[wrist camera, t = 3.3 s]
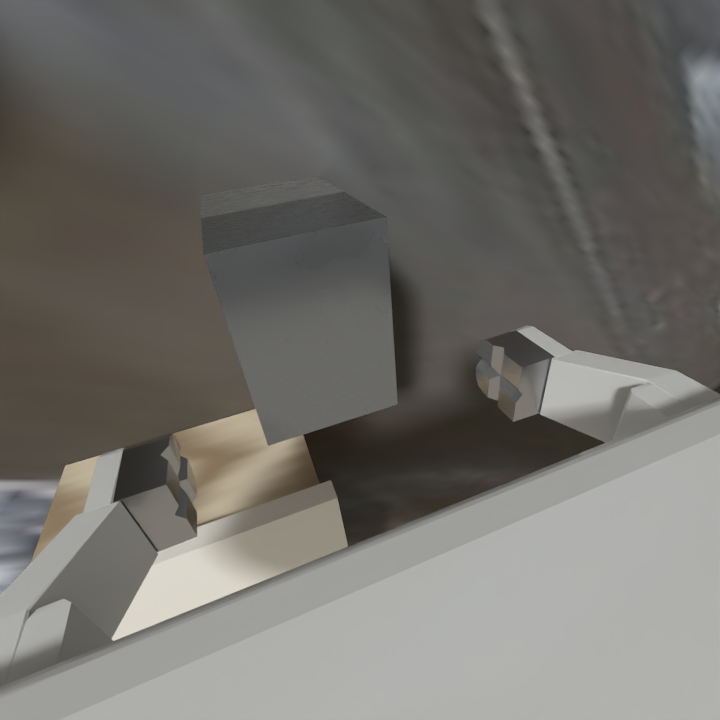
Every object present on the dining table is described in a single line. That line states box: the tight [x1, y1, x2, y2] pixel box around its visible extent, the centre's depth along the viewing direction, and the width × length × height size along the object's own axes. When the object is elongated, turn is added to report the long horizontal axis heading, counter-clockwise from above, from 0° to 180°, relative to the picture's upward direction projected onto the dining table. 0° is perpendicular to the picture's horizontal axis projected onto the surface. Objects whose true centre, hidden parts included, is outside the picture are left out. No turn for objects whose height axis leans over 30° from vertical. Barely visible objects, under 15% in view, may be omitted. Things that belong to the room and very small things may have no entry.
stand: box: [31, 409, 348, 641], centre depth 22 cm, size 13×13×8 cm
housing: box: [200, 176, 398, 446], centre depth 16 cm, size 5×7×8 cm
